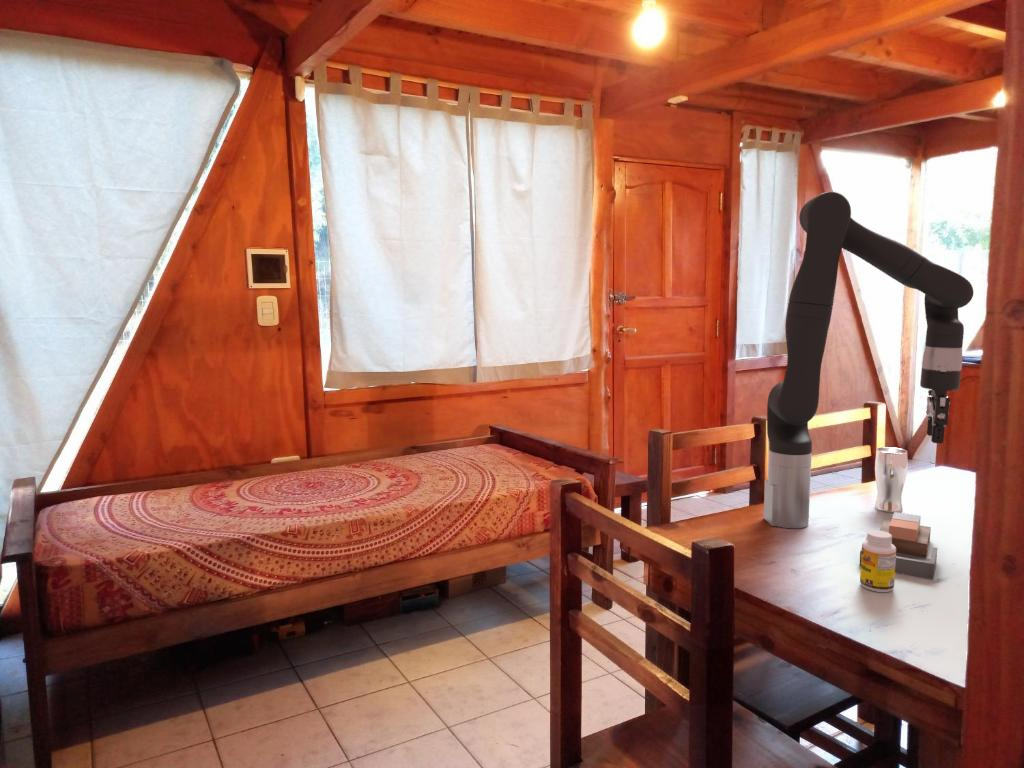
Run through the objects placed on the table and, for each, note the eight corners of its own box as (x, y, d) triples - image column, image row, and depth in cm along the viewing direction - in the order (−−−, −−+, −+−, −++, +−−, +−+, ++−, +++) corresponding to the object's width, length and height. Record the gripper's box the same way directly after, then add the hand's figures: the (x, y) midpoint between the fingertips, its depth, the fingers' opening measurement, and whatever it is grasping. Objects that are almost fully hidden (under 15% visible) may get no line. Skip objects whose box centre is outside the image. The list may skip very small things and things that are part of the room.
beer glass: (910, 513, 169) (913, 453, 167) (880, 513, 170) (883, 453, 168) (896, 505, 176) (899, 446, 174) (867, 505, 177) (871, 446, 175)
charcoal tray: (866, 550, 146) (866, 536, 146) (936, 562, 139) (937, 547, 139) (859, 565, 138) (860, 551, 138) (933, 579, 131) (934, 564, 131)
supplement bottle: (855, 580, 132) (858, 528, 130) (886, 581, 131) (889, 528, 130) (866, 593, 126) (869, 538, 125) (898, 594, 125) (902, 539, 124)
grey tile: (893, 522, 154) (894, 511, 154) (919, 526, 151) (920, 515, 151) (891, 529, 150) (891, 518, 150) (918, 533, 147) (918, 522, 147)
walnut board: (883, 532, 156) (883, 520, 156) (929, 540, 152) (930, 527, 151) (876, 549, 147) (877, 536, 146) (926, 558, 142) (927, 544, 141)
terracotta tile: (891, 530, 150) (891, 518, 149) (918, 534, 147) (918, 522, 147) (888, 537, 145) (889, 525, 145) (916, 541, 143) (917, 529, 142)
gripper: (918, 363, 163) (912, 431, 165) (925, 369, 150) (918, 443, 152) (956, 365, 159) (949, 435, 162) (966, 371, 147) (959, 447, 149)
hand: (934, 439), depth 157 cm, fingers open, 8 cm apart
